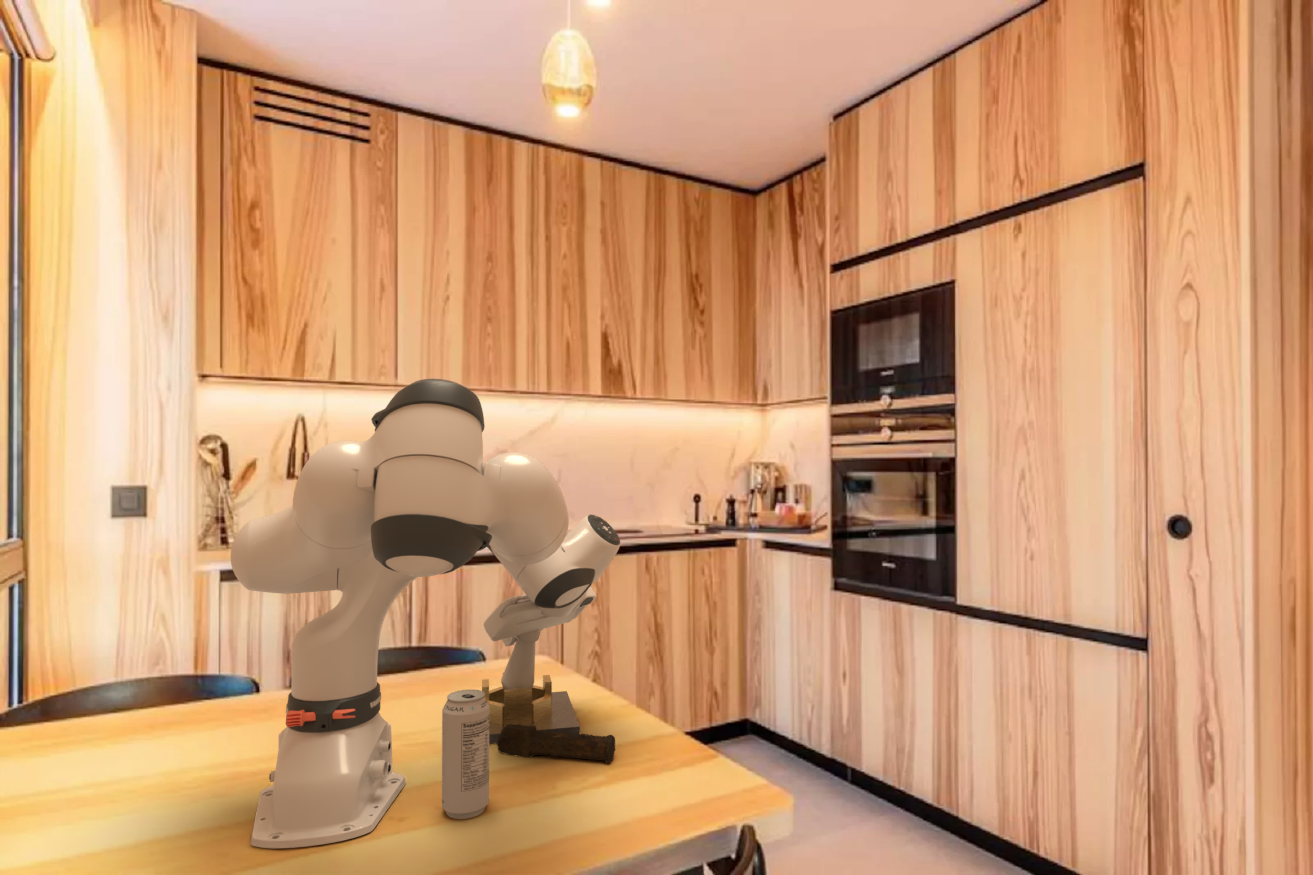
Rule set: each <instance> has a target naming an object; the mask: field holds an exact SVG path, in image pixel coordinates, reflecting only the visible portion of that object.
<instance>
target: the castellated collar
mask: <svg viewBox="0 0 1313 875" xmlns="http://www.w3.org/2000/svg"><path fill="white" fill-rule="evenodd" d="M503 674H504V671H503V672H502V675H503ZM552 682H553V681H552V678H551V676H550V674H545V675H544V674H543V675H542V686H539V685H534V684H533V688H521V689H508V690H504V689H503V686H498V687H496V688H494V689H493V688H492V689H491V690H490V679H489V678H487V679H485V678H484V679H482V680H481V691H483V692H484V693H485V696H484V697H485V699H486V701H487V703H488V704H489V745H491V744H498V737H499V736H500V734H501V731H502V729H503V728H504V727H506V726H507V725H509V724H511V725H515V724H517V725H524V726H536V730H537V731H543V732H551V733H560V734H581V726H580V723H579V720H578V718H577V715H576V713H575V709H574V707H573V704H572V701H571V699H570V696H569V693H568V691H567V690H565V691H563V690H562V691H552V690H553V687H552V686H553V685H552V684H553V683H552Z"/></svg>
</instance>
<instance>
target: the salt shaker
mask: <svg viewBox="0 0 1313 875" xmlns="http://www.w3.org/2000/svg"><path fill="white" fill-rule="evenodd" d="M540 636H541V631H540V630H539V629H538V630H534V631H531V632H529V633H525V634H521V635H518V636H515V637H516V638H517V641H516V642H515V643H514V647H513V649H512V652H511V654H510V656H509V660H508V662H507V664H506V666H505V669H504V671H503V672H504V674H503V673H502V676H501V685H502V686H501V687H503V689H504V690H508V689H521V688H533V685H534V684H535V665H536V661H535V660H536V642H538V641H539V639H540Z"/></svg>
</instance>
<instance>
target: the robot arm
mask: <svg viewBox="0 0 1313 875" xmlns="http://www.w3.org/2000/svg"><path fill="white" fill-rule="evenodd" d="M371 423H372V424H373V426H374V427H375V428H374V433H373V435H372V436H371V437H370V438H369V439H367V440H363V441H357V440H340V441H339V440H338V441H334V442H331V443H328V444H326V445H324V446H323V447H320V448H319V449H318V450H316V451H315V452H314V453H313V454H312V455H311V456H310V458H309V459H308V460H307V461H306V463H305V464H304V466H303V467H302V469H301V471H300V473H299V475H298V477H297V480H296V483H295V487H294V490H293V497H292V505H291V506H290V507H287V508H285V509H283V510H280V511H278V512H275V513H273V514H269V515H266V516H262V517H259V518H253V519H251V520H249V521H247V522H246V523H245V524H244V525H243V526H242V527H241V528H240V530H239V531H238V533H237V534H236V536H235V537H234V539H233V542H232V545H231V550H230V565H231V569H232V571H233V574H234V576H235V578H236V579H237V580H238V581H239V583H240V584H241V585H242V586H243V587H244V588H245V589H246V590H248V591H253V592H262V593H271V594H285V595H287V594H289V595H290V594H300V593H302V594H304V593H315V592H318V593H319V592H328V591H330V592H331V591H340V592H341V593H342V596H341V597H340V600H339V601H338V603H337V604H336V605H335V606H334V607H333V608H332V609H330V610H329V611H327V612H325V613H323V614H321V615H319V616H317V617H316V618H313V619H312V620H310V621H309V622H307V623H306V624H305V625H303V626H302V627H300V629H299V630H298V631H297V633H296V634H295V636H294V637H293V640H292V643H291V684H290V685H291V688H290V689H291V690H290V693H289V694H288V695H287V703H286V706H285V708H286V709H285V713H286V715H285V716H286V718H285V725H286V727H285V728H284V729H283V730H281V732H279V733H278V751H277V752H278V753H277V757H276V765H275V769H274V770H271V771H270V773H269V776H268V777H269V781H270V782H271V783H273V785H269V786H267V787H264V788H263V789H261V790H260V792H259V797H258V803H257V808H256V810H255V812H256V813H255V817H254V822H253V828H252V833H251V840H250V845H252V847H257V848H263V849H292V848H304V847H312V846H318V845H319V846H320V845H327V844H333V843H337V842H343V841H347V840H350V839H354V838H357V837H361V836H364V835H366V834H369V833H371V832H372V831H373V830H374V829H375V828H376V826H377V825H378V824H379V822H380V821H381V819H382V818H383V816H384V815H385V814H386V812H387V811H388V810H389V808H390V807H391V805H392V804H393V802H394V800H396V798H397V797H398V795H399V794H400V792H401V791H402V790H403V789H404V786H405V785H406V776H405V775H404V774H402V773H398V772H394V771H393V770H394V769H393V767H394V766H393V741H392V740H393V739H392V725H391V724H390V723H389V722H388V721H386V720H385V719H384V718H383V716H382V715H381V714H380V710H381V700H382V692H381V684H380V683H379V682H378V662H379V660H378V658H379V646H380V638H381V631H382V627H383V624H384V621H385V618H386V616H387V613H388V611H389V609H390V608H391V606H392V605H393V603H395V602H394V601H395V600H396V599H397V598H398V596H399V595H401V593H402V592H403V590H404V589H405V588H407V586H409V585H410V584H411V583H412V582H414V580H416V579H418V578H419V577H420V578H421V577H422V578H425V577H426V578H428V577H434V576H438V575H445V574H449V573H452V572H454V571H456V570H457V569H459V568H461V567H463V566H464V565H465V564H467V563H468V562H469V561H471V560H472V559H473V558H474V556H475V555H476V554H477V553H478V552H479V551H482V550H485V549H486V548H487V549H488V550H489V551H490V552H491V553H492V555H494V557H495V558H496V559H497V560H498V561H499V562H500V564H501V565H502V566H503V567H504V569H506V572H508V574H510V576H511V577H512V579H513V580H514V581H515V582H516V583H517V585H518V586H519V588H521V590H522V591H523V594H520V595H516V596H511V597H509V598H507V599H504V601H502V602H501V603H500V604H499V605H498V606H497V607H496V608H495V609H494V610H493V611H492V612H491V614H490V615H489V616H487V618H486V619H485V621H484V622H483V627H484V630H485V632H486V634H487V636H488V637H489V638H490V640H491V641H493V642H498V641H501V640H502V642H503V644H504V646H505V647H511V646H513V645H514V646H515V644H516V641H517V637H516V636H518V635H521V634H525V633H529V632H531V631H534V630H538V629H539V630H540V632H541V631H543V630H544V629H548V628H551V627H555V626H560V625H563V624H566V623H567V624H568V623H571V622H572V621H574V620H575V619H576V618H578V616H579V615H580V614H582V612H583V611H584V610H585V609H586V608H588V605H591V604H592V603H594V601H596V599H597V597H598V596H597V594H596V593H595V591H594V589H593V588H592V584H595V583H596V582H597V581H598V580H599V579H600V578H601V577H602V575H603V574H604V573H605V571H606V570H607V569H608V568H609V566H610V564H611V563H612V561H613V560H614V558H615V556H616V555H617V553H618V551H619V550H620V547H621V539H620V537H619V534H618V533H617V532H616V531H615V529H614V528H613V527H612V525H611V524H610V523H608V521H606V520H605V519H604V518H602V517H601V516H598V515H595V514H587V515H586V516H584V517H583V518H582V519H581V520H580V521H579V522H578V523H576V525H575V526H574V527H573V528H572V529H571V530H570V531H569V532H568V529H569V522H570V521H569V511H568V508H567V504H566V503H567V502H566V500H565V496H564V494H563V491H562V489H561V487H560V485H559V484H558V481H557V480H556V478H555V476H553V473H552V472H551V471H550V470H549V469H548V468H547V467H546V466H545V464H543V462H541V461H540V460H539V459H537V458H535V457H534V456H532V455H530V454H527V453H524V452H518V451H509V452H504V453H500V454H497V455H495V456H493V457H492V458H490V459H489V460H487V461H485V462H484V461H483V460H484V447H483V446H484V445H483V443H484V442H483V432H484V430H485V418H484V411H483V406H482V403H481V401H480V399H479V397H478V396H477V394H476V393H475V392H474V391H472V390H470V389H469V388H468V387H466V386H464V385H463V384H460V383H458V382H456V381H452V380H450V379H449V380H448V379H441V378H426V379H425V378H423V379H419V380H415V381H413V382H411V383H410V384H408V385H406V386H404V387H403V388H401V389H400V390H398V391H397V392H396V393H395V394H394V396H393V397H392V398H391V399H390V401H389V402H388V404H387V405H386V407H385V408H384V409H381V410H379V411H377V412H375V413H374V415H373V416H372V417H371Z"/></svg>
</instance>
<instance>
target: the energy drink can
mask: <svg viewBox="0 0 1313 875" xmlns="http://www.w3.org/2000/svg"><path fill="white" fill-rule="evenodd" d="M484 696H485V693H484V692H483V691H482V690H480V689H461V690H457V691H456V690H455V691H453V692H450V693H449V694H448V695H447V696H446V701H445V704H444V706H443V707H442V712H441V714H442V718H441V722H442V723H441V725H442V728H441V729H442V731H441V733H442V734H441V735H442V736H441V738H442V739H441V743H442V744H441V746H442V747H441V752H442V753H441V757H442V758H441V807H442V810H444V811H445V813H446V815H447V816H448V817H449V818H452V819H455V820H465V819H466V820H467V819H472V818H474V817H477V816H480V815H481V814H483V813H484V811H485V809H486V806H487V805H488V804H489V802H490V744H489V704H488V703H487V701H486V699H485V697H484Z"/></svg>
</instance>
